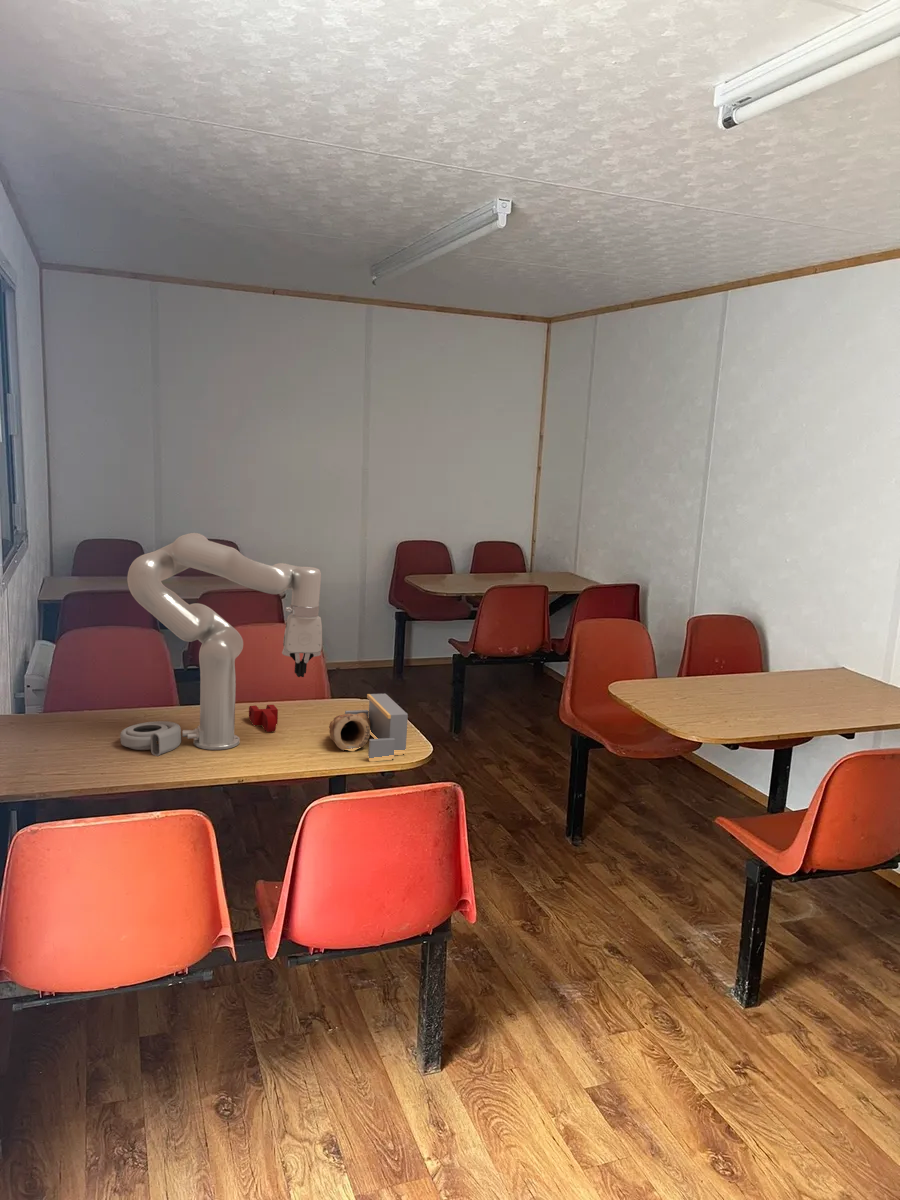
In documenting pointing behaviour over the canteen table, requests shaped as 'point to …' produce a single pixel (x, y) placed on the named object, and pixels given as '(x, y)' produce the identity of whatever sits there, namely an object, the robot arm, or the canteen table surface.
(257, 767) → the canteen table surface
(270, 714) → the mechanical linkage
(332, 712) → the canteen table surface
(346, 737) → the clay pipe
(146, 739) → the turbocharger housing
